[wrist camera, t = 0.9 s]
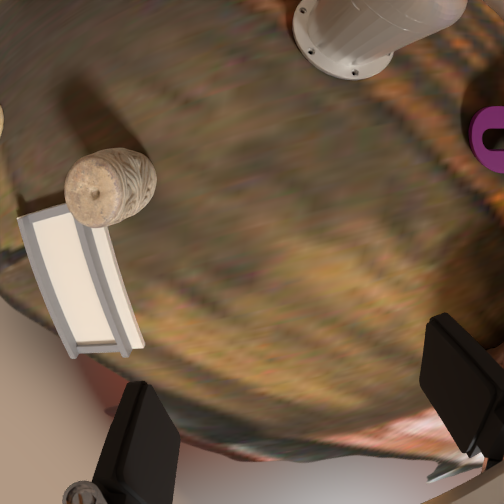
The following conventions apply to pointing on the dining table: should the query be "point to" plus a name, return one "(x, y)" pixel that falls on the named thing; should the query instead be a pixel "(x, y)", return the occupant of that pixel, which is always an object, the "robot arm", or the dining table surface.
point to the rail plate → (80, 282)
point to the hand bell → (1, 120)
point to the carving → (109, 186)
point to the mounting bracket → (479, 123)
